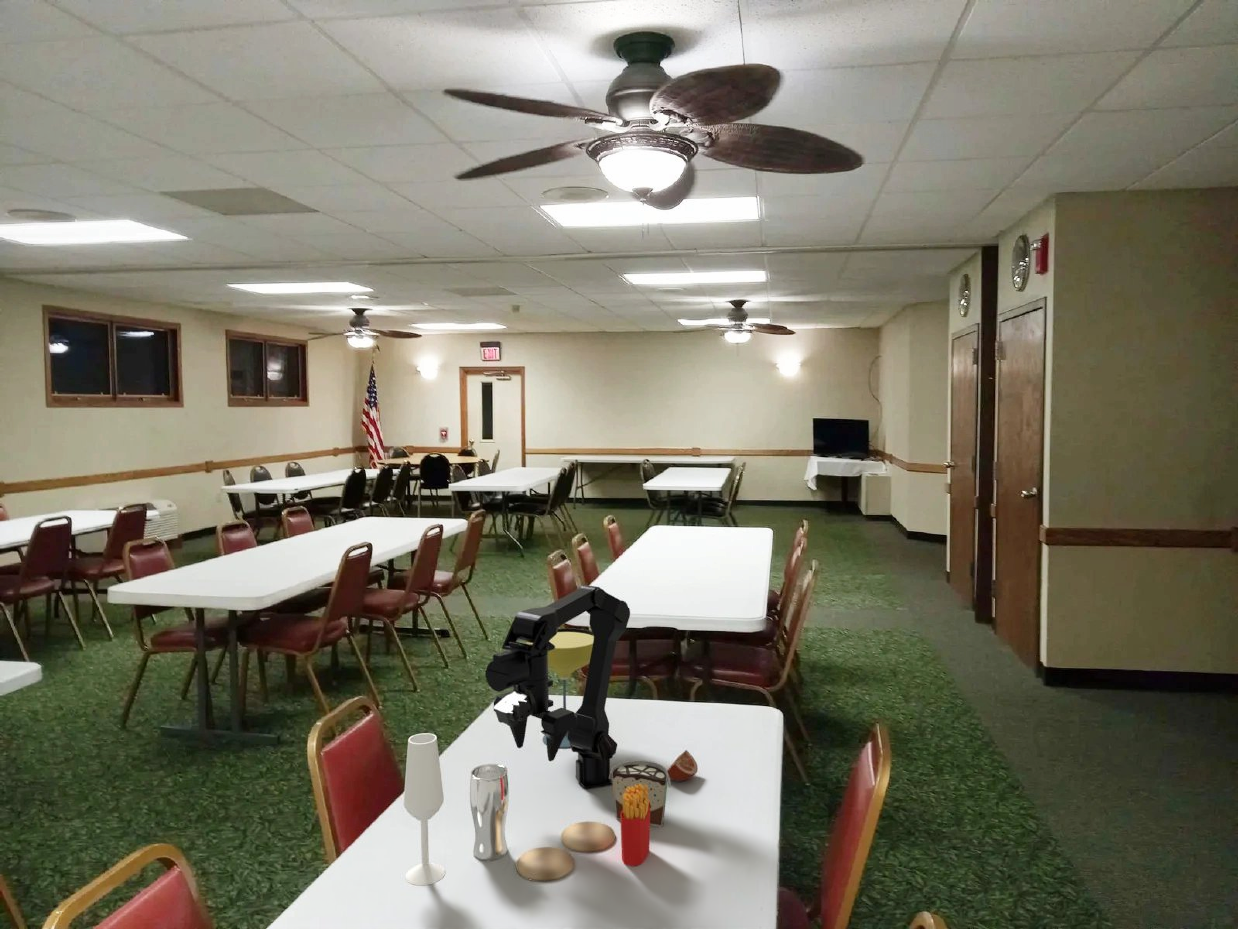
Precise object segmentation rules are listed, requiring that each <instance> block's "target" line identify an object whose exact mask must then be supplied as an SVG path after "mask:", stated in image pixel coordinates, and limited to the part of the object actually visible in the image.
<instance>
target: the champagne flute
mask: <svg viewBox="0 0 1238 929" xmlns="http://www.w3.org/2000/svg"><path fill="white" fill-rule="evenodd" d="M407 739H408V740H407V751H406V765H405V766H406V767H405V779H404V793H403V807H404V809H405V810H406V812H407V813H408V814H409V815H410V817H412V818H415V820H418V821H420V844H421V845H420V846H421V850H420V851H421V863H419V864H418V865H415V866H414V867H412V868H411V869H409V870H408V871H406V874H405V880H406V882H408V883H409V884H411V885H414V886H427V885H432V884H434V883H436V882H439V881H440V880H442V879H443V877H445V874H446V870H445V868H444V867H443V865H440V864H437V863H432V862H429V860H430V859H429V855H430V854H429V852H430V851H429V820H431V819H432V818H433V816H435V815H436V814H437V813H438V812H439V811H440V809H441V807H442V806H443V804H444V799H445V798H444V787H443V781H442V773H441V772H442V771H441V762H440V756H439V755H440V754H439V747H438V746H439V745H438V738H437V735H436V734H434V733H431V732H430V733H427V732H426V733H417V734H413V735H412V736H410V737H409V738H407Z"/></svg>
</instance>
